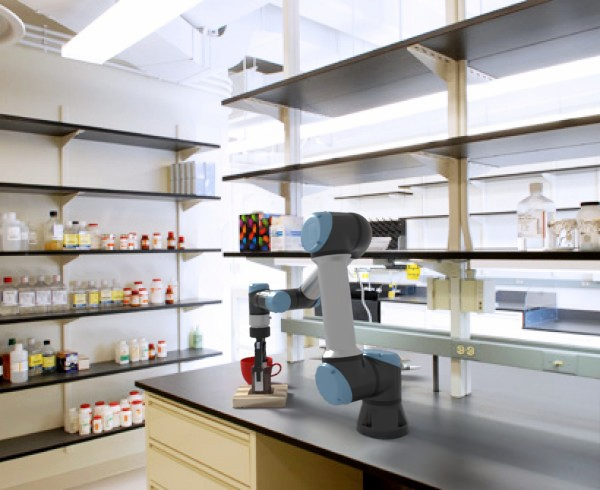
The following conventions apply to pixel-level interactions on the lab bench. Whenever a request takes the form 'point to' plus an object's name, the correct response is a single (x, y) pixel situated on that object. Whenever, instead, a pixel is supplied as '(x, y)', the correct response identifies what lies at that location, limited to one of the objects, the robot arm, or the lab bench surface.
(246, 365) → the ceramic cup
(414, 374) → the lab bench surface
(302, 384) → the lab bench surface
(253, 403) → the shallow beige tray
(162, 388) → the lab bench surface
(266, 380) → the box
